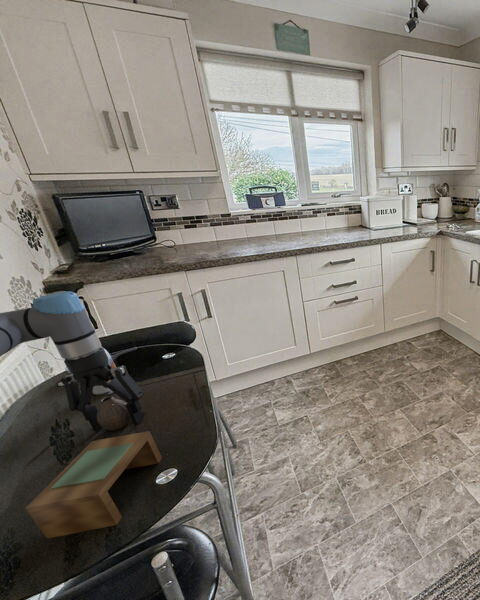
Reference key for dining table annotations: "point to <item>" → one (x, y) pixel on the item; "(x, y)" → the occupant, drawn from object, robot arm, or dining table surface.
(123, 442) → the shelf
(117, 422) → the vase
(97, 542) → the dining table surface
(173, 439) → the dining table surface
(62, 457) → the dining table surface
